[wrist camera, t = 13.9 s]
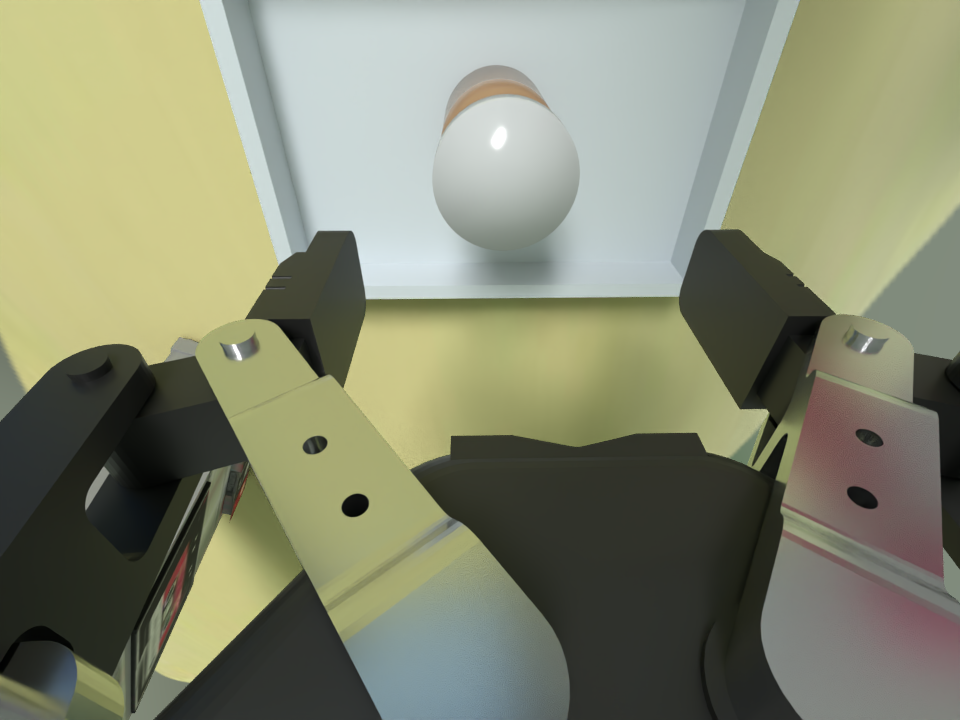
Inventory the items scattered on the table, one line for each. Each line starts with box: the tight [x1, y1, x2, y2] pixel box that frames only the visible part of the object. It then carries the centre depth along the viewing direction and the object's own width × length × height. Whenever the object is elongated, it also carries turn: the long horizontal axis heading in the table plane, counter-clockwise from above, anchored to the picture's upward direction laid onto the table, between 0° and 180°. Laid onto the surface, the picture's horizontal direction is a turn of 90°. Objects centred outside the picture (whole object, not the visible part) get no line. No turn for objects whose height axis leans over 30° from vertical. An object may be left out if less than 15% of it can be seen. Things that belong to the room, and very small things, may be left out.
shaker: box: [432, 65, 580, 251], centre depth 19 cm, size 5×5×8 cm
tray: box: [199, 0, 800, 299], centre depth 21 cm, size 16×22×3 cm
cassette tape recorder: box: [85, 337, 250, 720], centre depth 25 cm, size 14×6×25 cm, turn 155°
